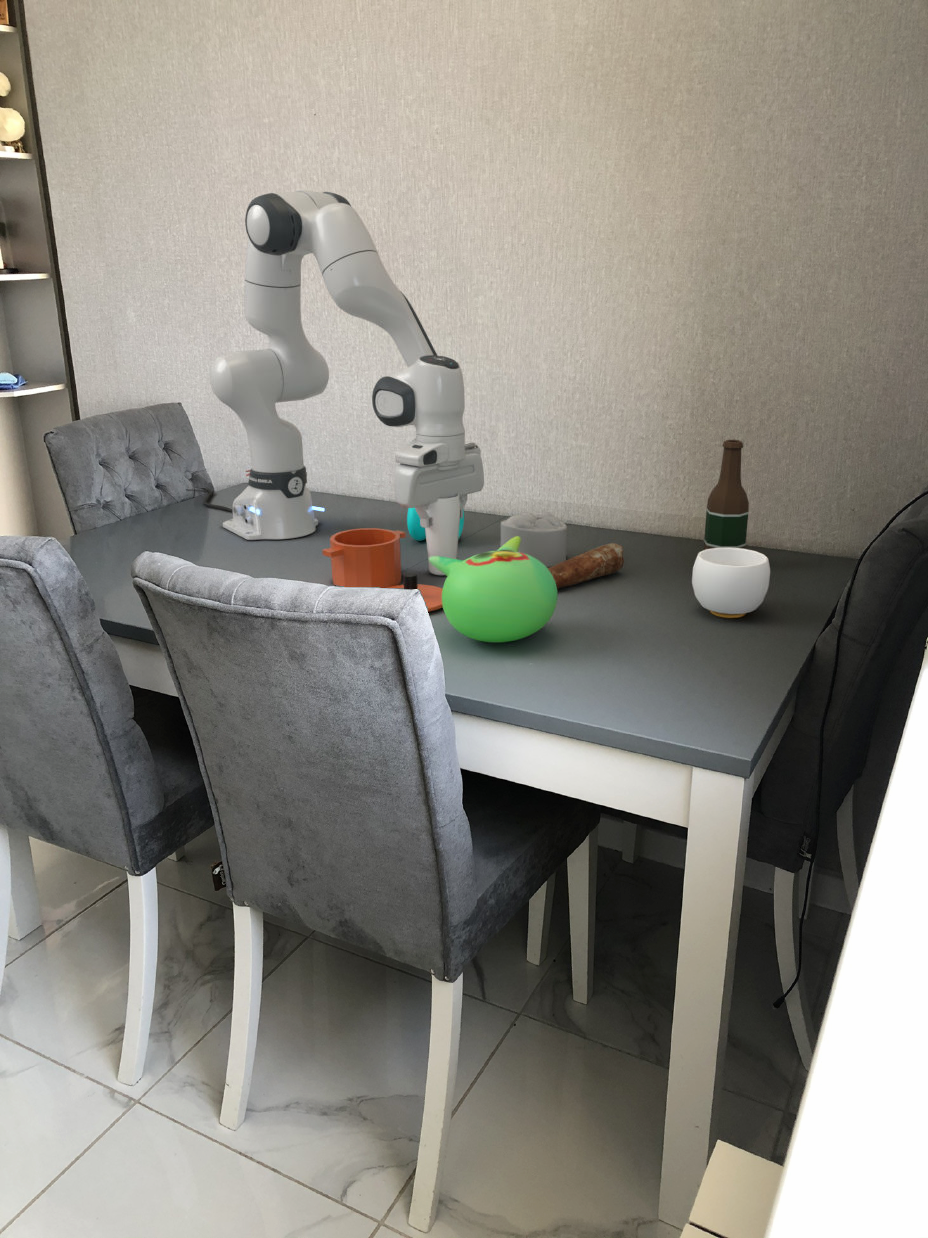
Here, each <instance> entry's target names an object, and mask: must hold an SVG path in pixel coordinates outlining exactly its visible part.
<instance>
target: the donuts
mask: <svg viewBox="0 0 928 1238" xmlns="http://www.w3.org/2000/svg"><path fill="white" fill-rule="evenodd" d="M406 513H407V514H406V524H407V525H406V526H407V530H408V533H409V535H410V537H411V538H412V539H413V540H414V541H417V542H422V541H424V540H426V533H425V528H424V527H421V525H420V517H419V515H418V513H417V512H416V510H415V507H414V508H407V512H406ZM464 524H465V508H464V509H463V518H461V519H460V523H459V535H458V540H459V539H460V538H461V536H462V533H463V530H464Z"/></svg>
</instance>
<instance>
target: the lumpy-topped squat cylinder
mask: <svg viewBox="0 0 928 1238" xmlns="http://www.w3.org/2000/svg"><path fill="white" fill-rule="evenodd" d="M567 534H568V527H567V524H566V523H565V522H563V521H562V520H559V519H558V518H557V517H555V516H554V515H553V514H552V512H548V511H541V513H539V514H538V515H535V514H534V513H531V512H529V511H524V512H521V513H519V514H515V515H512V516H510V517H508V518H507V519H504V520H502V521H501V522H500V547H502V546H503V545H504V544H505V543H506V542H508V541H509V540H510V539H512V538H514V537H516V536H519V537H520V538H521V542H520V545H519V549H518V552H520V553H524V554H527V555H530V556H532V557H534V558H536V559H537V560H539V561H540V562H542V563H543V564H544V565H545V566H546V567H547V568H550V567H553V566H555V565H557V564H559V563H561V562H564V561H566V560H567V539H568V535H567Z"/></svg>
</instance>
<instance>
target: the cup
mask: <svg viewBox="0 0 928 1238" xmlns="http://www.w3.org/2000/svg"><path fill="white" fill-rule="evenodd" d="M769 561H770V560H769V558H768V557H767V556H766V555H765V554H763V553H761V552H759V551H756V550H752V549H746V548H745V549H741V548H712V549H706V550H704V551H703V550H702V551H699V552H698V553H697V556H696V557H695V560H694V564H693V567H692V576H691V584H692V585H691V586H692V589H693V593H694V597H695V598H696V600H697V601H698V603H699V604H700V606H701V607H702V608H704V609H706V610H708V611H709V612H710V613H711V614H712V615H714V616H716V617H720V618H726V619H737V618H742V617H744V616H745V615H746V614H747V613H751V612H753V611H755V610H757V609H758V608H759V607H760V606H761V604H763V602H764V599H765V598H766V595H767V592H768V590H769V587H770V578H771V577H770V576H771V567H770V562H769Z"/></svg>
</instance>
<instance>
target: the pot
mask: <svg viewBox="0 0 928 1238" xmlns="http://www.w3.org/2000/svg"><path fill="white" fill-rule="evenodd" d="M405 538H407V533H406V531H403V530H397V529H396V530H390V529H387V528H377V527H363V528H361V527H360V528H354V529H347V530H343V531H338V532H337V533H334V534H333V535H331V537H330V538H329V545H330V546H329V547H328V548H324V549H322V556H324V557H328V558H330V562H331V578H332V584H333V586H334V585H338V586H344V587H380V588H387V587H392V586H397V585H401V583H402V553H401V551H402V549H401V540H402V539H405Z"/></svg>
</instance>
